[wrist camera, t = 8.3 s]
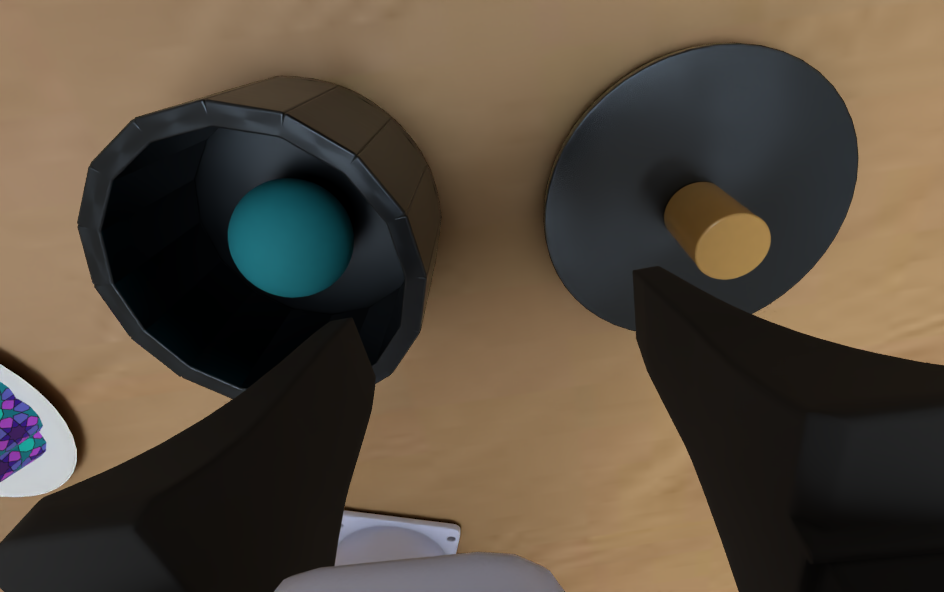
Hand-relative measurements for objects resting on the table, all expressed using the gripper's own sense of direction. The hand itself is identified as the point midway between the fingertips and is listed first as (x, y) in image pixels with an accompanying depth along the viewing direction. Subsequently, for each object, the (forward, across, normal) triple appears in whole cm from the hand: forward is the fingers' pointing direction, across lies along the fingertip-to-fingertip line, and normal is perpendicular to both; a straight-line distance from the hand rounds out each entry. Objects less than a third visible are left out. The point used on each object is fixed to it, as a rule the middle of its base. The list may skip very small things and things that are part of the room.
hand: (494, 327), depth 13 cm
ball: (+6, +7, -1) cm, 10 cm away
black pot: (+9, +7, -1) cm, 12 cm away
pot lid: (+8, -8, +1) cm, 11 cm away
